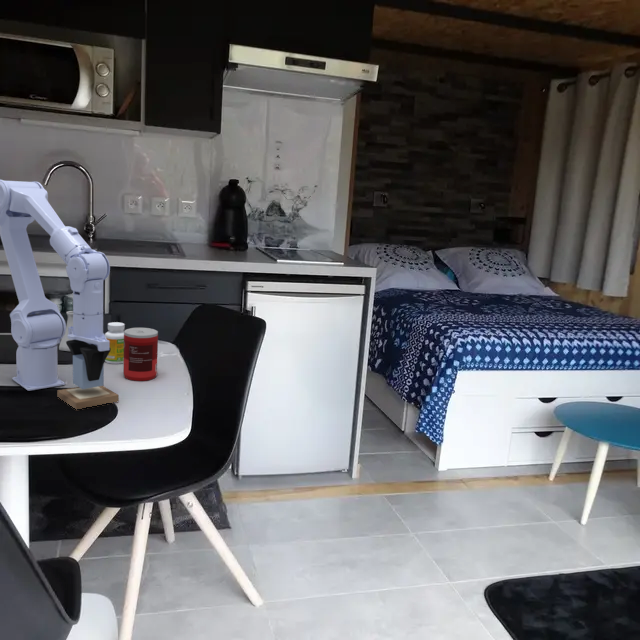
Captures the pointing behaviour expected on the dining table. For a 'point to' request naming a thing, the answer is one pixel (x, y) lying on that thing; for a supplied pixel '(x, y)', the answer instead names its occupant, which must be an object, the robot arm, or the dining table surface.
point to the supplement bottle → (115, 343)
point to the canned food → (140, 354)
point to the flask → (63, 344)
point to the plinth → (87, 396)
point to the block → (84, 374)
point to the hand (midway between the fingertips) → (88, 376)
